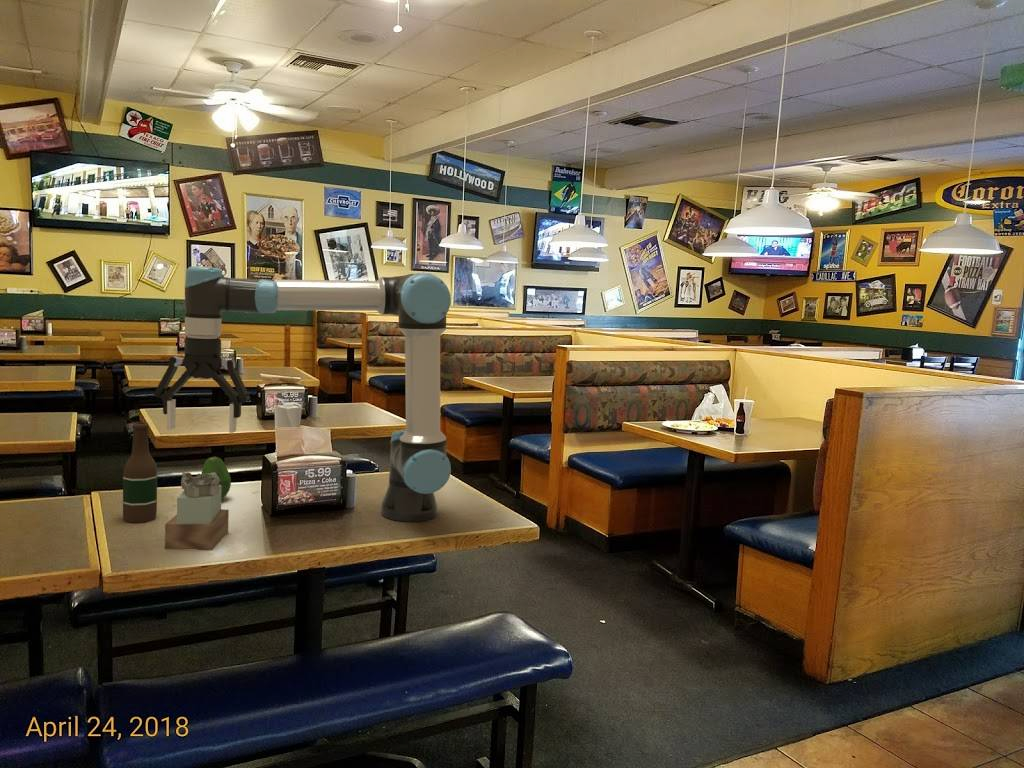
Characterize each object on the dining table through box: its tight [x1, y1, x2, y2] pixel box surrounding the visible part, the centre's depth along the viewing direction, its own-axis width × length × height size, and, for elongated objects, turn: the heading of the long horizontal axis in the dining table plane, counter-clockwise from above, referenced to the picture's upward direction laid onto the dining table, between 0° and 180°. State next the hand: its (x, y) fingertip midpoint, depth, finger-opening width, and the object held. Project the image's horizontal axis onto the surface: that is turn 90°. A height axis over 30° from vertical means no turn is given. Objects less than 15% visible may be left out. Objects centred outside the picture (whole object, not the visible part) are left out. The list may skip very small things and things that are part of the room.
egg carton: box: [180, 469, 221, 497], centre depth 164 cm, size 11×8×4 cm
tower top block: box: [176, 485, 222, 524], centre depth 164 cm, size 7×11×6 cm, turn 10°
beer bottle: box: [122, 421, 158, 524], centre depth 176 cm, size 8×8×24 cm
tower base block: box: [164, 508, 230, 551], centre depth 165 cm, size 10×12×6 cm
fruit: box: [200, 456, 232, 500], centre depth 195 cm, size 8×8×12 cm
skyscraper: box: [273, 397, 303, 452], centre depth 203 cm, size 8×8×28 cm
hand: (202, 430), depth 163 cm, fingers open, 13 cm apart
